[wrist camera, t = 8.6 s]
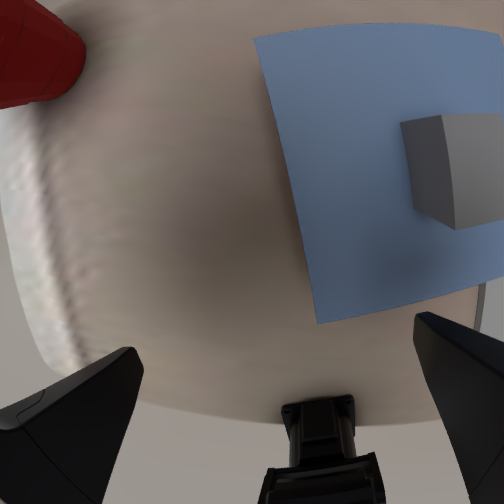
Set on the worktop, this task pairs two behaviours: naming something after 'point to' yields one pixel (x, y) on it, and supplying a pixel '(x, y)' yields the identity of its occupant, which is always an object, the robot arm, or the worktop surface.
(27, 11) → the plastic cup
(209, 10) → the worktop surface
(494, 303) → the mat
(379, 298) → the cover sheet
